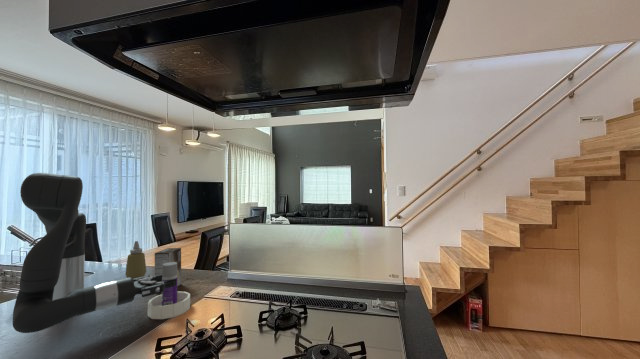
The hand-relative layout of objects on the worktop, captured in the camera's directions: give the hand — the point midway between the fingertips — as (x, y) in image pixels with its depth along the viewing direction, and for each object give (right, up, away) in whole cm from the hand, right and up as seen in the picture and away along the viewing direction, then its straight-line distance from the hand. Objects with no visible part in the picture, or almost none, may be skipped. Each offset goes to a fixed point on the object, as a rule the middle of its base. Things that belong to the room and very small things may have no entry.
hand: (171, 279), depth 92 cm
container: (0, -10, -1) cm, 10 cm away
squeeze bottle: (-34, -12, +30) cm, 47 cm away
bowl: (0, -10, -1) cm, 11 cm away
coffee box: (-13, -12, +20) cm, 26 cm away
